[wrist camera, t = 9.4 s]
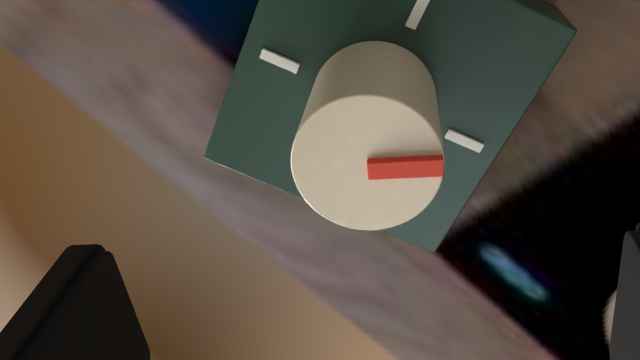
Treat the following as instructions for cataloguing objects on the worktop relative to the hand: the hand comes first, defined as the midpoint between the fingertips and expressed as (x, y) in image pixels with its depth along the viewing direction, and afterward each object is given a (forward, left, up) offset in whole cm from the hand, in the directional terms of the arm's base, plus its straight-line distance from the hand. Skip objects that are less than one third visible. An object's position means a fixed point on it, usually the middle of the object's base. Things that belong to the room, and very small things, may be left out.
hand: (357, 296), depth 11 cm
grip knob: (+1, 0, -12) cm, 12 cm away
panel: (+1, 0, -15) cm, 15 cm away
